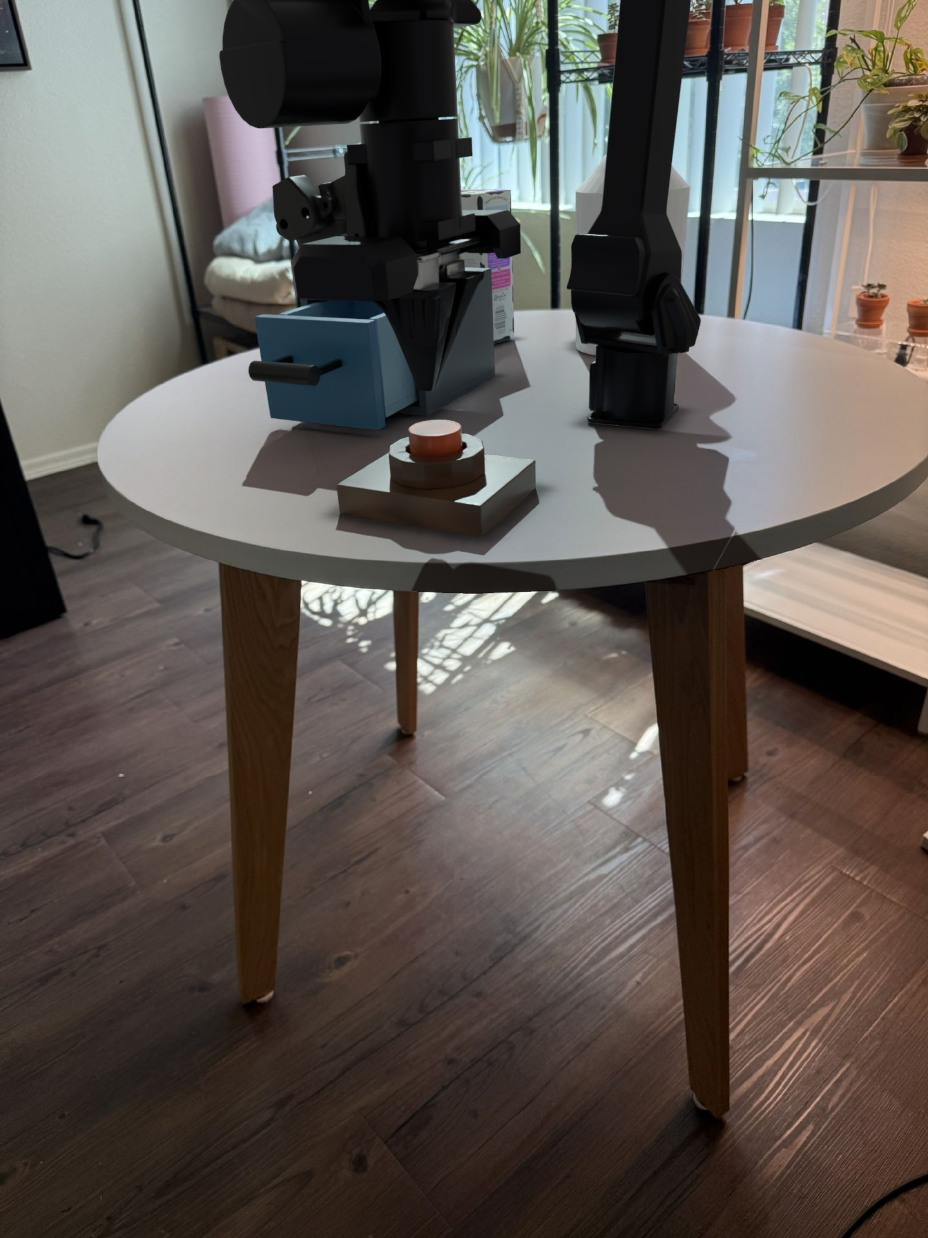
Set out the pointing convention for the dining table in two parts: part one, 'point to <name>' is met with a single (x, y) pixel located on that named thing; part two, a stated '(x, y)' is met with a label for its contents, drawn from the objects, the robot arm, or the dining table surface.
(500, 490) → the control block
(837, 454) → the dining table surface
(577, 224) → the bottle
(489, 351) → the drawer cabinet
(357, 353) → the blue drawer
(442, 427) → the button
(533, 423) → the dining table surface
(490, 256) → the candy box
